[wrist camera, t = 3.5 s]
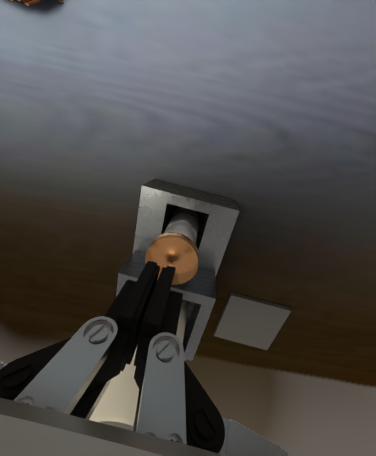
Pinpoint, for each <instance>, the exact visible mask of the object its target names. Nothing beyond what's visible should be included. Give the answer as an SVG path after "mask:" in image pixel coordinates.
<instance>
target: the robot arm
mask: <svg viewBox="0 0 376 456" xmlns="http://www.w3.org/2000/svg"><path fill="white" fill-rule="evenodd" d="M175 269H176V267H172V266H168V265H167V267H163V268H162V270H161V273H160V275H159V278H158V274H159V270H160V266H158V265H157V263H156V262H152V261H147V263H146V265H145V267H144V269H143V270H142V272H141V274H140V276H139V278H138V280H137V282H136V281H132V280H127V281H126V282H125V284H124V286H123V287H122V289H121V290H120V292H119V294H118V295H117V297H116V298H115V300H114V302H113V303H112V305H111V307H110V308H109V310H108V311H107V313H106V315H105V316H104V317H96V318H93V319H91V320H89V321H87V322H86V323H85V324H84V325H83V326H82V327H81V328H80V329H79V330H78V331H77V332H76V333H75V334H74V336H73V337H71V338H69V339H66V340H64V341H61V342H59V343H56V344H54V345H51V346H48V347H46V348H44V349H41V350H39V351H36V352H34V353H31V354H29V355H26V356H24V357H21V358H19V359H16V360H15V361H12V362H10V363H8V364H3V361H0V456H289V455H288V453H287V452H286V451H285V450H283V449H282V448H281V447H280V446H278V445H276V444H274V443H272V442H271V441H269V440H267V439H266V438H264V437H262V436H260V435H258V434H257V433H255V432H253V431H252V430H250V429H248V428H246V427H245V426H243V425H241V424H239V423H237V422H236V421H234V420H232V419H230V421H228V420H227V419H225V418H223V417H221V415H220V413H219V411H218V409H217V408H216V406H215V405H214V403H213V402H212V401H211V399H210V398H209V396H208V395H207V393H206V392H205V390H204V389H203V388H202V386H201V384H200V383H199V381H198V380H197V379H196V377H195V376H194V374H193V373H192V371H191V370H190V368H189V367H188V365H187V364H186V362H185V361H184V349H183V344H182V343H181V341H180V339H179V338H178V337H177V336H176V333H177V327H178V321H179V316H180V310H181V304H182V298H183V293H179V292H176V291H172V290H170V289H171V285H172V281H173V277H174V273H175ZM157 279H158V281H157ZM136 348H137V350H136ZM135 350H136V355H135V360H134V366H136V369H135V374H134V379H135V382H136V384H137V386H138V388H139V391H138V398H137V404H136V411H135V417H134V423H133V430H132V431H131V430H127V429H123V428H119V427H115V426H111V425H107V424H103V423H100V422H96V421H92V420H89V419H90V417H91V415H92V414H93V412H94V410H95V408H96V407H97V405H98V403H99V401H100V400H101V398H102V396H103V394H104V393H105V391H106V389H107V387H108V385H109V383H110V381H111V379H112V378H114V377H115V376H117V375H119V374H120V372H121V371H124V368H125V366H126V364H129V365H130V364H131V361H132V359H133V356H134V353H135Z"/></svg>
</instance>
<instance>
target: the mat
mask: <svg viewBox="0 0 376 456" xmlns="http://www.w3.org/2000/svg"><path fill="white" fill-rule="evenodd" d="M290 312H291V309H290V308H289V307H286V306H282V305H278V304H274V303H271V302H267V301H263V300H259V299H255V298H252V297H248V296H244V295H240V294H237V293H233V292H231V293H230V295H229V298H228V300H227V302H226V305H225V307H224V310H223V312H222V314H221V317H220V319H219V322H218V324H217V326H216V329H215V331H214V336H216V337H219V338H223V339H227V340H231V341H234V342H238V343H242V344H245V345H249V346H253V347H257V348H260V349H264V350H268V348H269V346H270V345H271V343H272V341H273V340H274V338H275V337H276V335H277V333H278V332H279V330H280V329H281V327H282V325H283V324H284V322H285V320H286V319H287V317H288V316H289V314H290Z"/></svg>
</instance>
